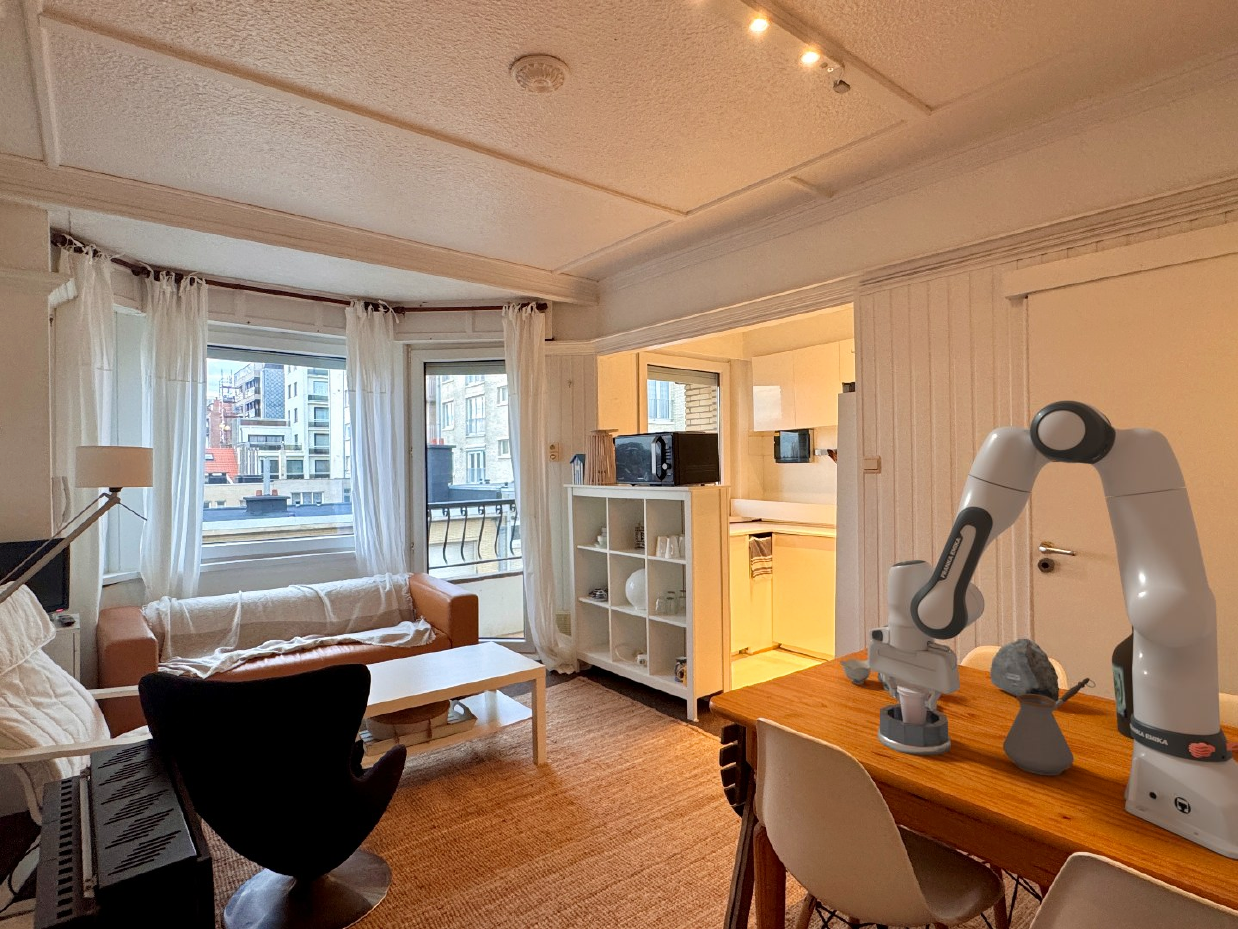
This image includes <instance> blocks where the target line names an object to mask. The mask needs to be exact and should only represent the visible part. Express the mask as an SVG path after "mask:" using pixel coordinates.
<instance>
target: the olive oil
mask: <svg viewBox="0 0 1238 929" xmlns="http://www.w3.org/2000/svg"><path fill="white" fill-rule="evenodd" d="M1133 640H1134V628H1133V626H1132V625H1131V634H1129V636H1128V637H1126V638H1124V639H1123V640H1122V641H1121V642H1120V643H1119V644H1117V645H1116V646H1115V647H1114V649H1113V651H1112V655H1111V666H1112V667H1111V668H1112V676H1113V678H1112V679H1113V689H1114V696H1115V697H1114V698H1115V699H1114V700H1115V712H1116V724H1117V731H1118V733H1120V734H1121V735H1123V736H1125V737H1126V738H1129V739H1133V740H1134V738H1133V737H1132V736H1131V728H1130V723H1131V715H1132V714H1133V713H1134V706H1133V678H1132V665H1133Z"/></svg>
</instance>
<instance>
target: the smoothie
mask: <svg viewBox="0 0 1238 929" xmlns="http://www.w3.org/2000/svg"><path fill="white" fill-rule="evenodd" d="M897 692H898V693H899V696H900V703H901V710H902V716H903V722H905V723H912V724H925V722H926V713H927V708H925V700H927V699H929V697H930V696H931V694H929V688H926V687H923V686H920V685H916V684H912V683H904V684H900V685H898V686H897Z"/></svg>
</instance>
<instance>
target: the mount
mask: <svg viewBox="0 0 1238 929" xmlns="http://www.w3.org/2000/svg"><path fill="white" fill-rule="evenodd" d="M877 739H878V740H879V742H880V743H881V744H882V745H884V746H885V747H887V748H889V749H891V750H893V751H896V752H900V753H904V754H908V755H913V754H914V755H915V756H929V757H930V756H937V755H938V756H939V755H943V754H945V753H947V752H950V750H951V748H952V747H951V746H952V745H951V744H952V742H951V741H952V740H951V737H950V735H949V721H948V716H947V715H946V714H944V713H942V712H940V711H939V710H937V709H935V710H929V709H927V713H926V722H925V724H912V723H905V722H903V716H902V710H901V704H899V703H898V704H888V705H886V706H883V707H881V708H879V726H878V728H877Z"/></svg>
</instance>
